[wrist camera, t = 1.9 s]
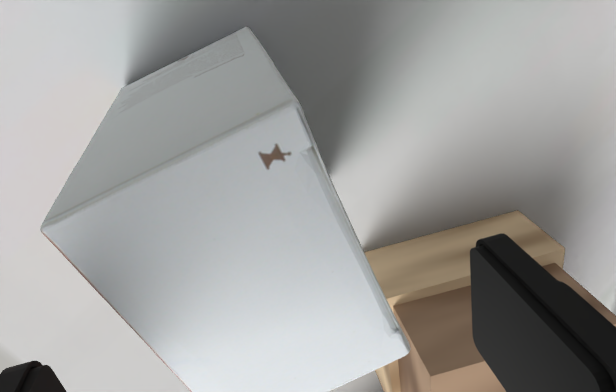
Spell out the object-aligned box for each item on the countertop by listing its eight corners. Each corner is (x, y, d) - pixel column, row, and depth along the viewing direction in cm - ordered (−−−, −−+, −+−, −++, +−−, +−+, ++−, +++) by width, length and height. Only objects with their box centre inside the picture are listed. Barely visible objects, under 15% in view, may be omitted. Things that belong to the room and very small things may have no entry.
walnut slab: (392, 305, 21) (430, 376, 17) (555, 262, 21) (622, 321, 18) (403, 416, 24) (435, 492, 21) (539, 376, 25) (593, 443, 22)
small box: (119, 85, 17) (21, 223, 8) (249, 21, 17) (296, 89, 8) (220, 238, 21) (228, 445, 12) (326, 187, 21) (416, 358, 12)
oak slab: (354, 250, 24) (380, 300, 20) (514, 207, 24) (564, 248, 21) (373, 366, 28) (396, 423, 25) (508, 326, 29) (549, 376, 25)
